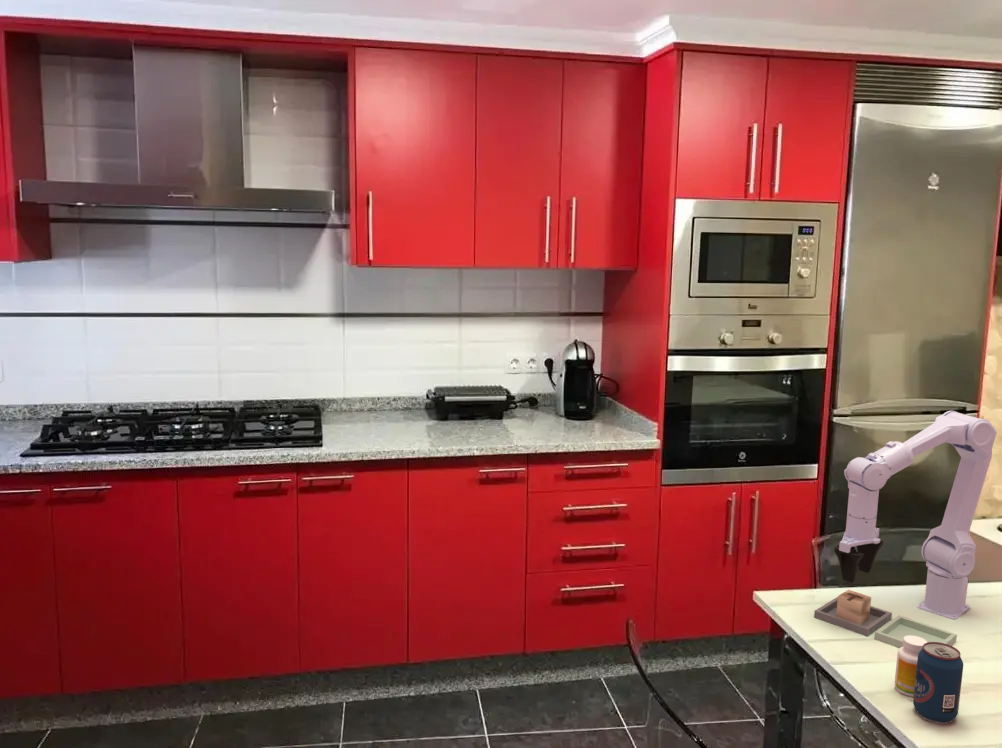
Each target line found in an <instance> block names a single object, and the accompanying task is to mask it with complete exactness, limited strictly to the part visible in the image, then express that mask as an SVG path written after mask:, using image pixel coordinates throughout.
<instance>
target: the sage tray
mask: <svg viewBox="0 0 1002 748" xmlns="http://www.w3.org/2000/svg"><path fill="white" fill-rule="evenodd" d="M910 635H911V636H917V637H921V638H923V639H925V640H926V641H927V642H939V643H944V644H948V645H950V646H952V647H953V645H954V644H956V642H957V636H958V634H956V633H954V632H950V631H947V630H945V629H941V628H938V627H936V626H933V625H929V624H927V623H924V622H921V621H918V620H914V619H911V618H909V617H905V616H902V615H899V614H898V615H897V616H895V617H894V618H892V619H891V620H890V621H889V622H887V623H886V624H885V625H883V626H882V627H880V628H879V629H878V630H876V631H875V632H874V637H873V638H874V640H875V641H879V642H881V643H885V644H888V645H890V646H892V647H896V648H899V649H900V648H901V647H903V638H904V637H905V636H910Z"/></svg>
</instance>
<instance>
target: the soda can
mask: <svg viewBox="0 0 1002 748" xmlns="http://www.w3.org/2000/svg"><path fill="white" fill-rule="evenodd" d="M963 672H964V661H963V659H962V656H961V652H960V650H959V649H957V648H956V647H955V646H953V645H952V646H950V645H948V644H944V643H939V642H927V643H925V644H924V645H923V648H922V649H921V651H920V652H919V653H918V660H917V670H916V679H915V689H914V697H913V700H912V701H913V702H912V704H913V707H914V708H915V710H916V712H917V714H918V715H919V716H920V717H921V718H923V719H924V720H926V721H929V722H932V723H936V724H949V723H951V722H952V721H954V720H955V719H956V718H957V717H958V714H959V707H960V698H961V689H962V683H963V682H962V680H963Z"/></svg>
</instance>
